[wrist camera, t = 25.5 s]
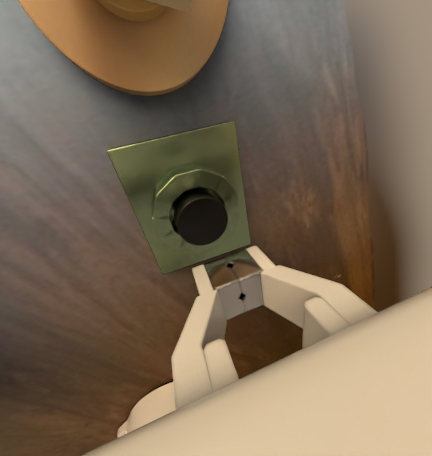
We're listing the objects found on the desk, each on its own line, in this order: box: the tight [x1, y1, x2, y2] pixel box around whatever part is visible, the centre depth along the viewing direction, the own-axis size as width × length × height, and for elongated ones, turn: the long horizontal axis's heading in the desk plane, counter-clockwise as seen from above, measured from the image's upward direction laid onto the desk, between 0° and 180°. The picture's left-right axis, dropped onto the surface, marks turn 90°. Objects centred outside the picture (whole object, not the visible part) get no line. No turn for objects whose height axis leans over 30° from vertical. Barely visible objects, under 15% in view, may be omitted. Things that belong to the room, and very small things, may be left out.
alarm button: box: [174, 191, 228, 246], centre depth 14 cm, size 4×4×2 cm
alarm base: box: [107, 121, 251, 275], centre depth 16 cm, size 11×9×4 cm
